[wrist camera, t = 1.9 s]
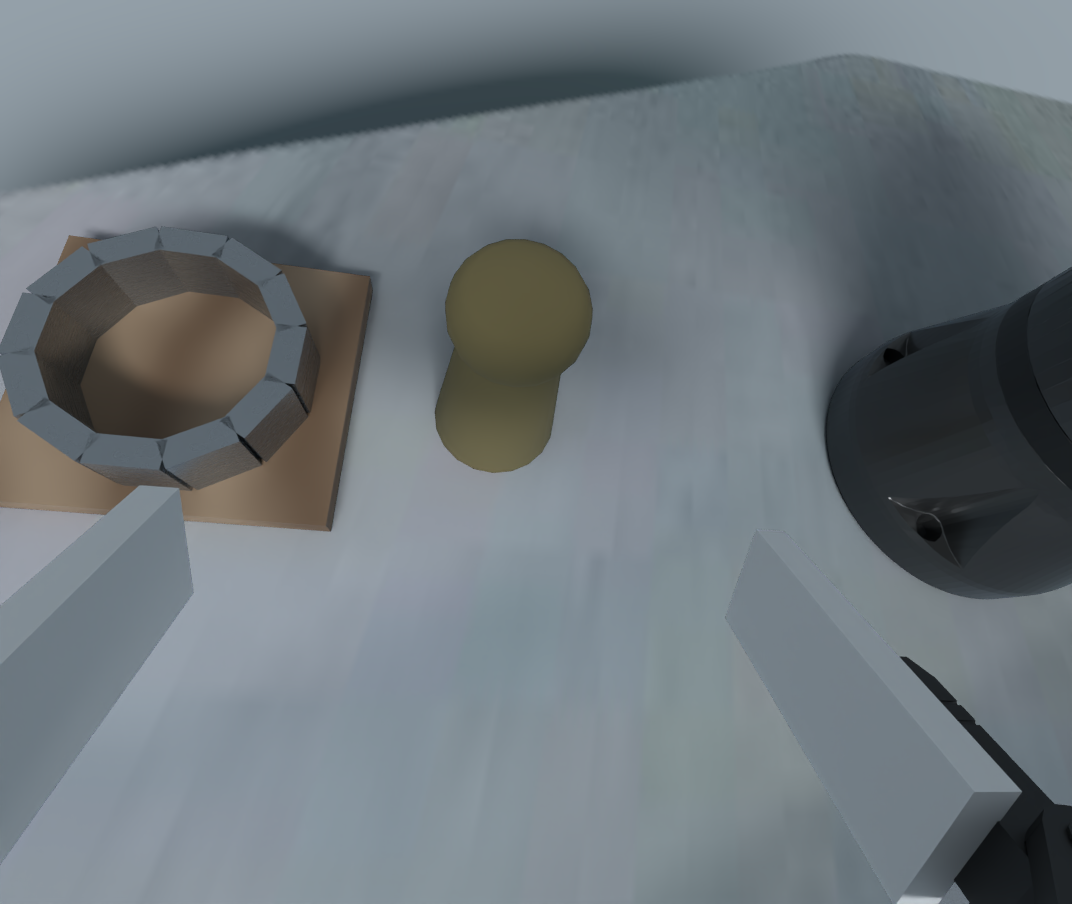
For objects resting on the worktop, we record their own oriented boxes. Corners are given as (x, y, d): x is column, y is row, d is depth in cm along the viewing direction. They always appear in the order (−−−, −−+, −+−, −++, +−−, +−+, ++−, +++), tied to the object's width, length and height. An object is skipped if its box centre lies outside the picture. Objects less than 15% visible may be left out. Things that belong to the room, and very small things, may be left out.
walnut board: (372, 290, 30) (369, 276, 28) (330, 531, 25) (325, 525, 24) (83, 252, 28) (69, 235, 27) (-17, 505, 23) (-40, 498, 22)
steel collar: (335, 289, 28) (323, 249, 25) (292, 499, 24) (273, 479, 21) (97, 258, 26) (57, 211, 24) (13, 476, 23) (-46, 452, 20)
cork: (461, 347, 29) (472, 185, 19) (567, 388, 30) (635, 249, 19) (415, 446, 27) (401, 323, 17) (531, 490, 27) (586, 394, 17)
